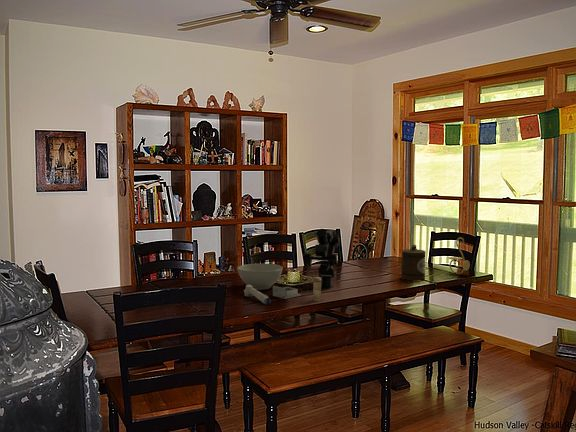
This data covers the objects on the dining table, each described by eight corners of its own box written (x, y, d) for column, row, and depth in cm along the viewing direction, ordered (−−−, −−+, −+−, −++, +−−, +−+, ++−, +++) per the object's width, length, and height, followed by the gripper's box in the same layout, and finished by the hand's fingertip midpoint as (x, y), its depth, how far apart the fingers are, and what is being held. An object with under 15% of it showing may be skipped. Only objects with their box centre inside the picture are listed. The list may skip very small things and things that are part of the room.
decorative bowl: (291, 285, 306) (291, 265, 305) (266, 294, 283) (266, 273, 282) (254, 281, 320) (254, 262, 319) (228, 289, 297) (228, 268, 296)
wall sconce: (470, 275, 338) (471, 237, 336) (461, 276, 333) (462, 238, 331) (453, 271, 349) (454, 235, 347) (444, 273, 344) (445, 236, 342)
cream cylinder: (315, 298, 273) (315, 276, 272) (322, 299, 271) (322, 277, 270) (311, 300, 270) (311, 278, 269) (318, 301, 268) (318, 279, 267)
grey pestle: (263, 298, 260) (242, 282, 281) (262, 310, 261) (242, 294, 282) (272, 296, 263) (251, 281, 284) (271, 309, 264) (250, 292, 285)
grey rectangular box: (288, 292, 289) (288, 282, 288) (301, 295, 281) (301, 285, 281) (272, 295, 280) (272, 285, 280) (285, 299, 273) (285, 288, 273)
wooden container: (424, 281, 317) (424, 246, 315) (400, 280, 322) (400, 245, 320) (425, 277, 331) (426, 243, 329) (402, 275, 336) (403, 242, 334)
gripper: (304, 238, 285) (299, 259, 274) (337, 239, 280) (333, 260, 269) (307, 252, 293) (302, 272, 282) (339, 253, 288) (335, 274, 277)
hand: (317, 270), depth 277 cm, fingers open, 9 cm apart
